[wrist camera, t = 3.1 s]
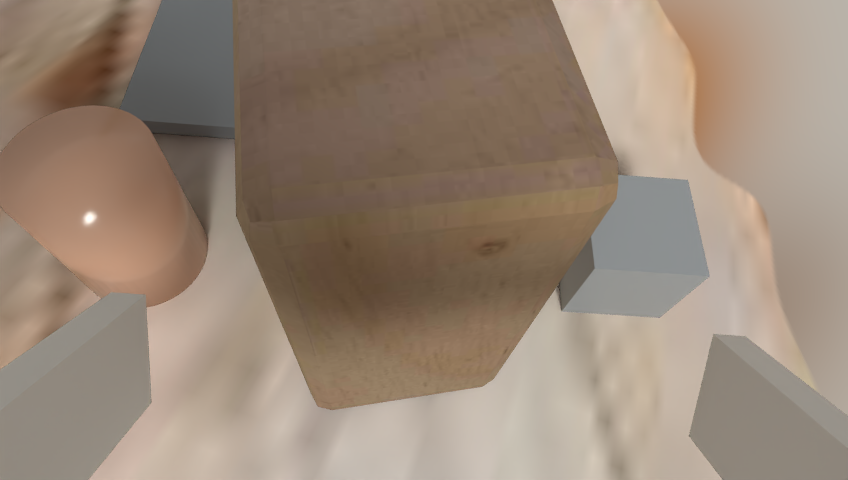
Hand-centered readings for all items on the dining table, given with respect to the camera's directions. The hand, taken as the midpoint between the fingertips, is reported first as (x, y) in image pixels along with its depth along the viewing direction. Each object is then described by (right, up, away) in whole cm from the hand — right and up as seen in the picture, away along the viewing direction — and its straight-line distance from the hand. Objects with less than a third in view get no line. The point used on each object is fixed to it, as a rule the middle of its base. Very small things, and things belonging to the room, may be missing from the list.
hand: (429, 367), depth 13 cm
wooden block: (-2, -2, +20) cm, 20 cm away
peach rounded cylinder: (-17, +2, +21) cm, 27 cm away
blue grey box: (+11, +1, +22) cm, 25 cm away
